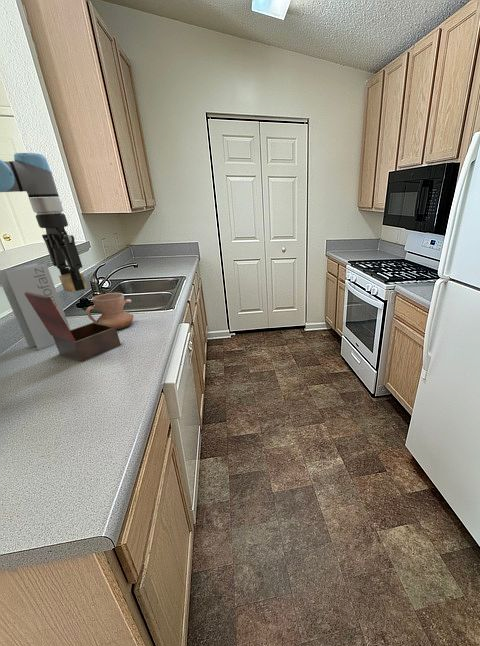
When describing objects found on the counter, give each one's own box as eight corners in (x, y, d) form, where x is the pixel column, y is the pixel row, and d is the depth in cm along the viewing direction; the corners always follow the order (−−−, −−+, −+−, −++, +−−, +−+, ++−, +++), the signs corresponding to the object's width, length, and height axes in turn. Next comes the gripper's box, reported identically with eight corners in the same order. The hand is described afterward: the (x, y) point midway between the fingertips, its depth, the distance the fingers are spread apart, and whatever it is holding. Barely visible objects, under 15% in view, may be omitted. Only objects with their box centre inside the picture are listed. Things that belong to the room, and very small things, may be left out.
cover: (26, 292, 110) (23, 293, 109) (49, 296, 104) (46, 298, 104) (53, 333, 120) (50, 335, 119) (75, 340, 114) (73, 341, 113)
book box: (99, 340, 135) (93, 322, 132) (121, 345, 130) (115, 327, 126) (60, 355, 123) (52, 336, 120) (82, 362, 117) (74, 342, 114)
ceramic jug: (133, 318, 158) (125, 289, 151) (140, 327, 147) (132, 296, 141) (90, 327, 149) (80, 296, 142) (94, 337, 138) (83, 304, 132)
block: (64, 290, 110) (58, 275, 108) (79, 286, 114) (74, 272, 112) (72, 292, 108) (67, 277, 106) (87, 288, 112) (82, 273, 110)
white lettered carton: (38, 351, 127) (5, 272, 113) (29, 349, 129) (-5, 271, 115) (73, 337, 139) (46, 264, 125) (63, 335, 141) (36, 263, 127)
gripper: (79, 212, 99) (102, 289, 110) (47, 212, 107) (71, 283, 118) (52, 214, 93) (80, 294, 104) (20, 213, 101) (49, 288, 112)
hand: (75, 288), depth 111 cm, fingers closed on block, 5 cm apart
